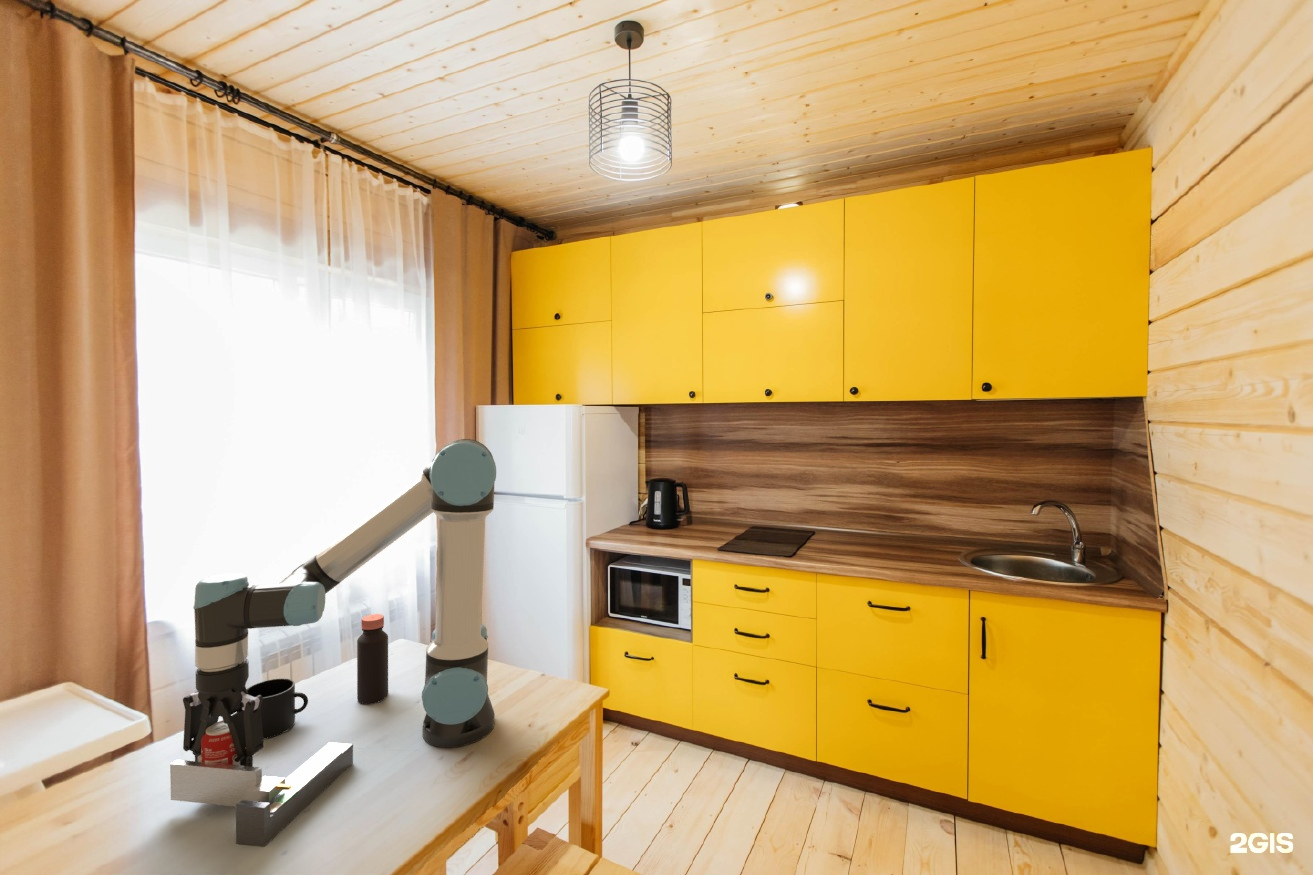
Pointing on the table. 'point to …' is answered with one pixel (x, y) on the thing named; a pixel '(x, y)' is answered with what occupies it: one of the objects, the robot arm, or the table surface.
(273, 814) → the grey long bar
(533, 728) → the table surface
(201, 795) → the gauge paddle
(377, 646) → the bottle
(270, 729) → the mug
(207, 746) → the beverage can
